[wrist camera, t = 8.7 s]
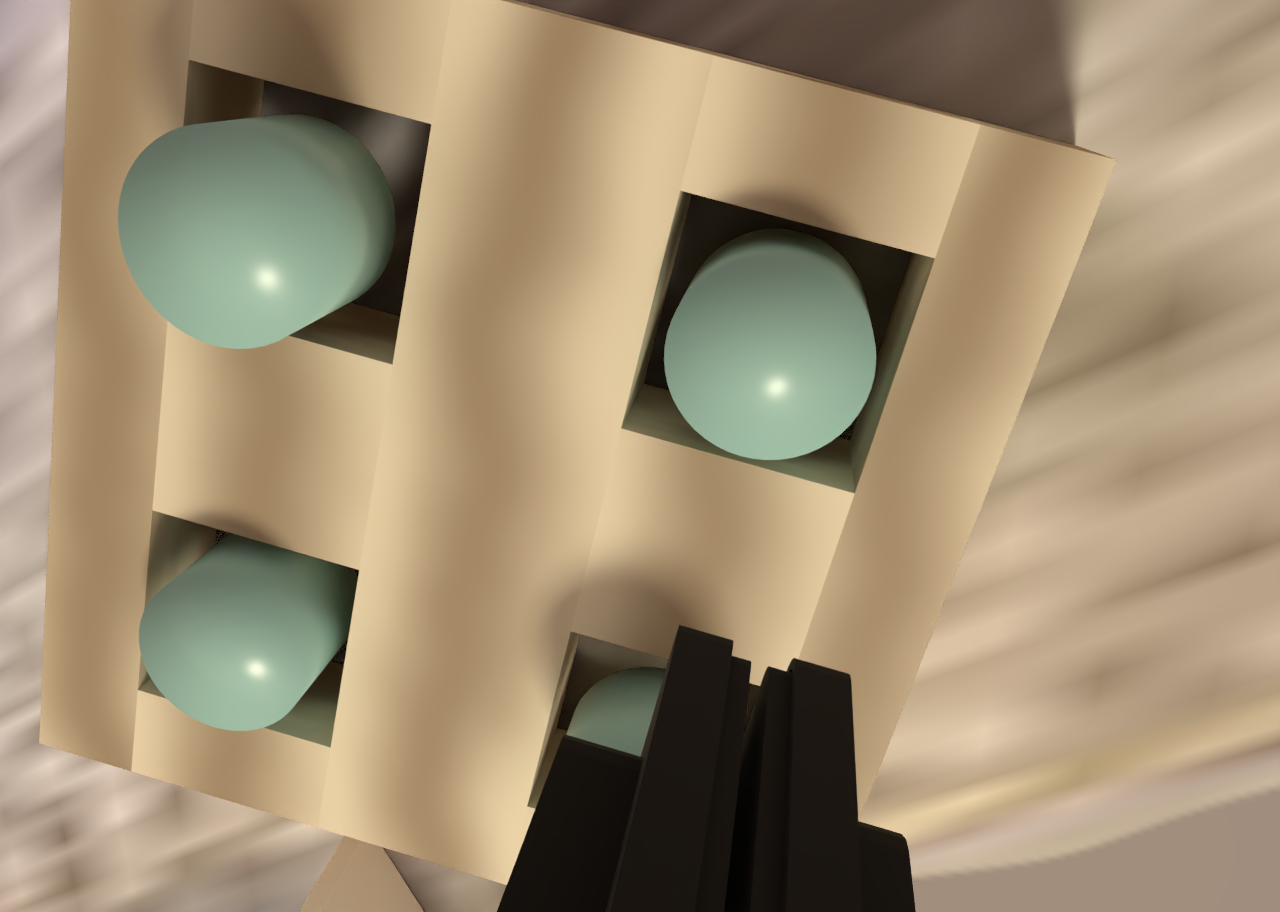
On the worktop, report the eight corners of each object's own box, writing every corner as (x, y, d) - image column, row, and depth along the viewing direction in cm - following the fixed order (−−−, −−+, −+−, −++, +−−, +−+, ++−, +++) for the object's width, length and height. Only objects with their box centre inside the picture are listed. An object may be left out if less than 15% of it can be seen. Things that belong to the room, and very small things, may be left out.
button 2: (372, 542, 33) (315, 605, 29) (349, 676, 35) (294, 751, 31) (219, 498, 33) (145, 554, 29) (205, 633, 35) (133, 703, 31)
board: (1075, 145, 28) (1117, 159, 24) (800, 879, 36) (799, 973, 33) (170, -90, 29) (75, -111, 25) (115, 674, 38) (39, 743, 34)
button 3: (759, 695, 30) (752, 786, 26) (714, 832, 32) (701, 935, 28) (590, 646, 30) (559, 729, 27) (554, 785, 32) (521, 880, 28)
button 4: (892, 256, 28) (904, 287, 24) (836, 429, 30) (839, 483, 26) (708, 207, 28) (693, 230, 24) (663, 382, 30) (642, 428, 26)
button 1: (410, 142, 26) (343, 156, 23) (380, 331, 28) (314, 373, 24) (221, 91, 27) (124, 97, 23) (203, 282, 28) (111, 316, 25)
